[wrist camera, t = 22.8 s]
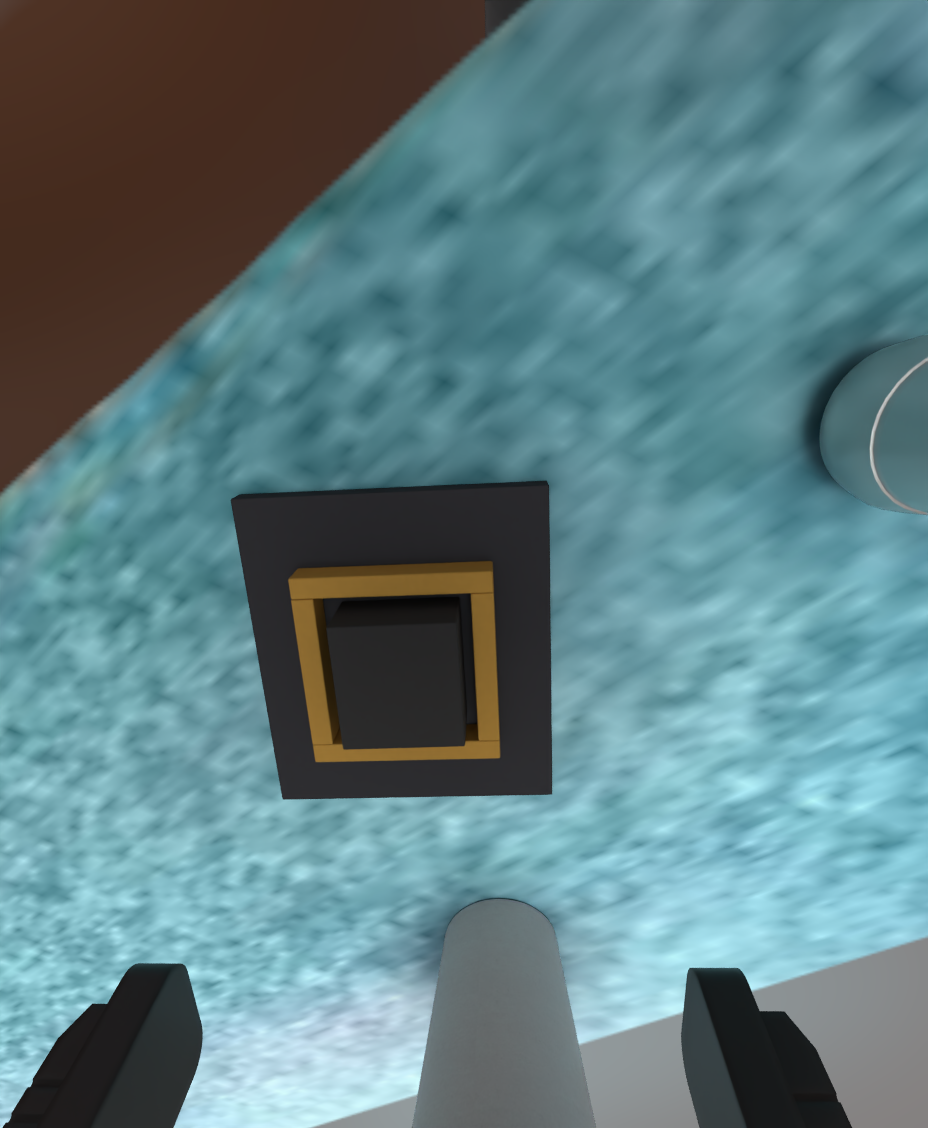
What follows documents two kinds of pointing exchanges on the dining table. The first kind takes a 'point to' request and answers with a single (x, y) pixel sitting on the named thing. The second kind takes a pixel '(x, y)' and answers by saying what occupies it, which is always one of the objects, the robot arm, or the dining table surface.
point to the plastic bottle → (882, 429)
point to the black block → (399, 673)
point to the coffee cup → (502, 1028)
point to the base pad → (404, 571)
